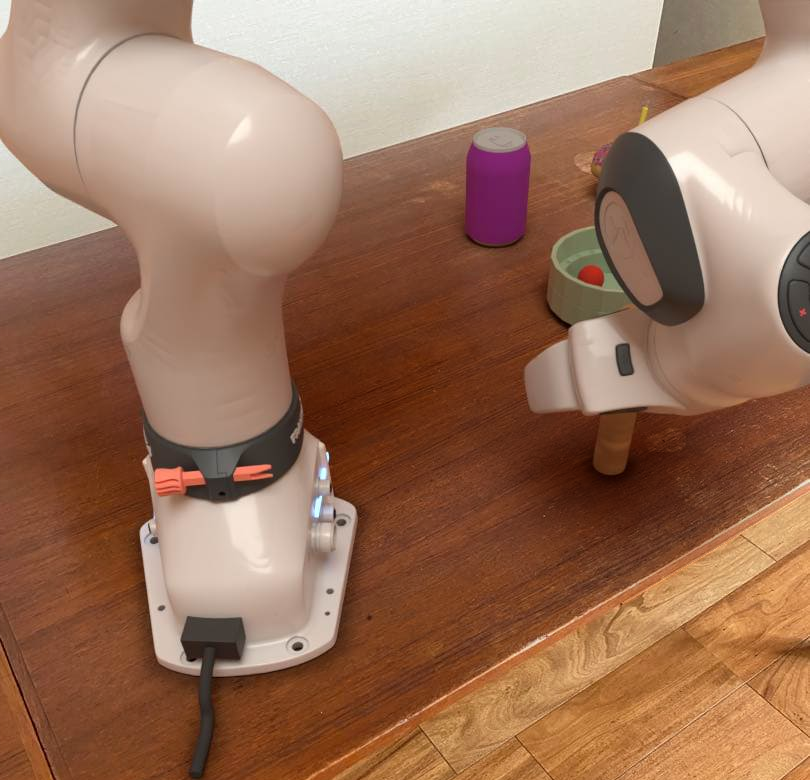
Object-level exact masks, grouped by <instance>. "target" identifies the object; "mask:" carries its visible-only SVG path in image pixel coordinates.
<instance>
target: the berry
mask: <svg viewBox="0 0 810 780" xmlns="http://www.w3.org/2000/svg"><path fill="white" fill-rule="evenodd" d="M577 279H579V280H581V281H583V282H585V283H588V284H592V285H596V286H600V287H602V285H603V283H604V274H603V271H602V270H601V269H600V268H599V267H597V266H595V265H589V266H586V267H584V268H583V269H581V271H580V272H579V274H578V277H577Z"/></svg>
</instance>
